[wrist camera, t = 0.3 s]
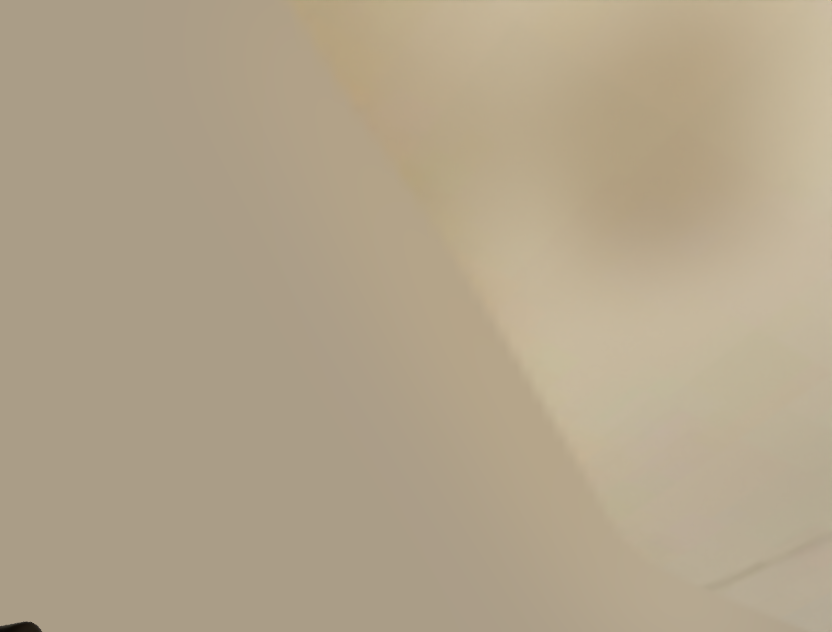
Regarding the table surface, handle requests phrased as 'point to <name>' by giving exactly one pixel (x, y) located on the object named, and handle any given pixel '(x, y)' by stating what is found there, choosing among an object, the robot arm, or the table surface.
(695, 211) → the table surface
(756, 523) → the table surface
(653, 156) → the table surface
